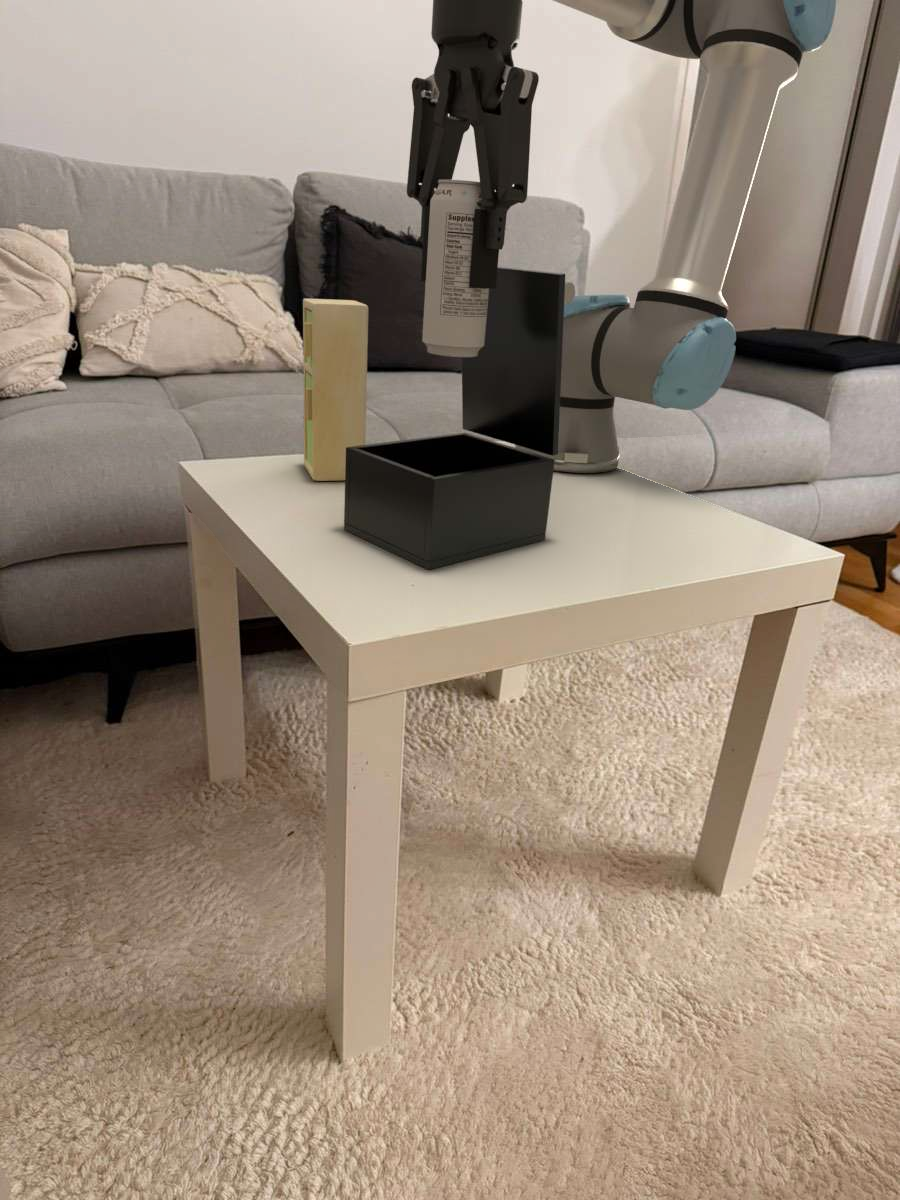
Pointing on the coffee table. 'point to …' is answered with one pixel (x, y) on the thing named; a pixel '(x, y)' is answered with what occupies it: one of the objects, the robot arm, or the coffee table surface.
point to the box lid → (519, 361)
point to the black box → (446, 497)
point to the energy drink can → (453, 274)
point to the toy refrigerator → (333, 383)
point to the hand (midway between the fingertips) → (457, 284)
